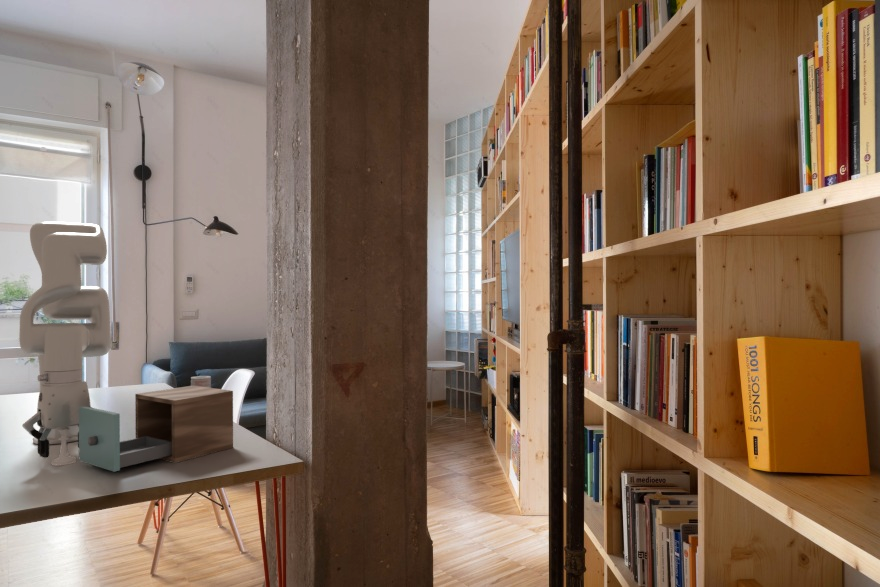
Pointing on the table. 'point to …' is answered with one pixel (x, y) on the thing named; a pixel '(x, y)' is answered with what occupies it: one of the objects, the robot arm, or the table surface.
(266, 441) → the table surface
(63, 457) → the chess piece
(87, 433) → the drawer
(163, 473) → the table surface
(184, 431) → the cabinet
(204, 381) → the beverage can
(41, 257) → the robot arm
